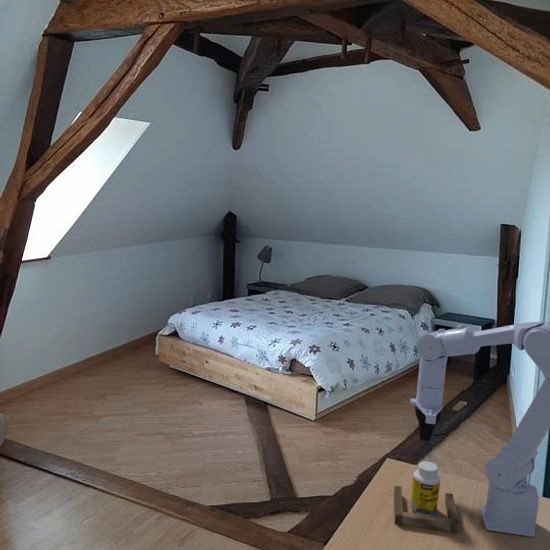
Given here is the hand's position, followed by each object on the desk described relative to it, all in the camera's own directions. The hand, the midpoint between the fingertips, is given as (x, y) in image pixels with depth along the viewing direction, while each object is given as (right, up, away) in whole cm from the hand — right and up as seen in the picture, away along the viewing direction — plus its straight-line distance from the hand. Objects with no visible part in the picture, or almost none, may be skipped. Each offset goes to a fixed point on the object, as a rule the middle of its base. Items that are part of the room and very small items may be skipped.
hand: (424, 439), depth 132 cm
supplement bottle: (-3, -13, -9) cm, 16 cm away
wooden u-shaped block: (-3, -12, -10) cm, 16 cm away
